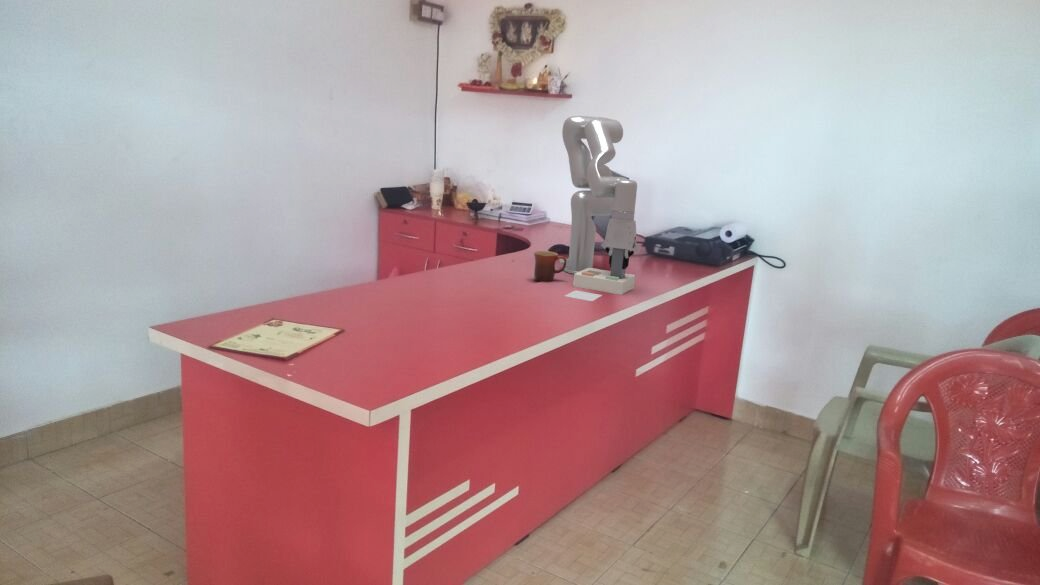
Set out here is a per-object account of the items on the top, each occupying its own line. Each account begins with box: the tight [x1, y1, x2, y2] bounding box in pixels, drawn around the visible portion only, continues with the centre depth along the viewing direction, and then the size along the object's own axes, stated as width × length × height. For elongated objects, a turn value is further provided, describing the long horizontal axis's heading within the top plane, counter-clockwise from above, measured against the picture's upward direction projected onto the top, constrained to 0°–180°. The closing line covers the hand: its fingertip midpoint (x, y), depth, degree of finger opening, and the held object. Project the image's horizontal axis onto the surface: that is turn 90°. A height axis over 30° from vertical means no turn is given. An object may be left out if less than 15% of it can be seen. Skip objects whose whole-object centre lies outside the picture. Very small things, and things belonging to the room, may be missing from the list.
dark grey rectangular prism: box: [610, 248, 626, 279], centre depth 249 cm, size 4×4×10 cm
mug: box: [533, 250, 567, 283], centre depth 258 cm, size 12×9×10 cm
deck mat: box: [564, 289, 603, 302], centre depth 239 cm, size 10×10×1 cm
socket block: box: [572, 267, 636, 296], centre depth 253 cm, size 18×14×6 cm
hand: (618, 267), depth 250 cm, fingers closed on dark grey rectangular prism, 4 cm apart
